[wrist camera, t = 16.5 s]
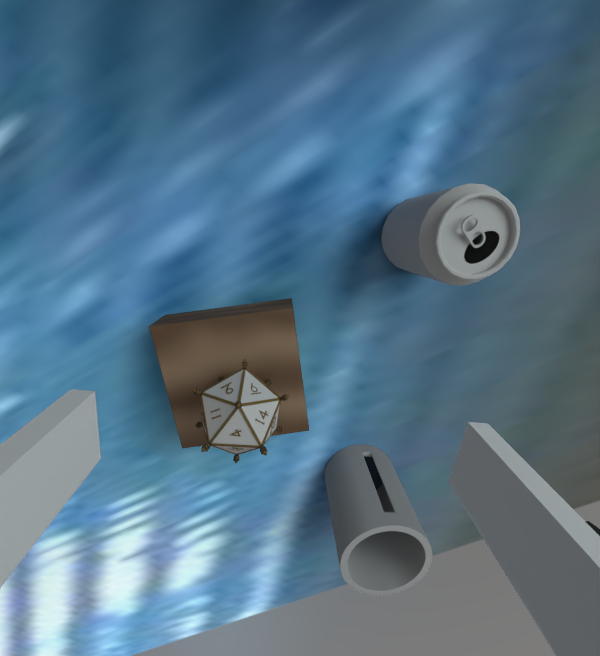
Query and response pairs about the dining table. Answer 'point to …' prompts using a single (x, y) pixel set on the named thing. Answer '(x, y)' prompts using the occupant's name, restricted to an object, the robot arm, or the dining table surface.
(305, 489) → the dining table surface
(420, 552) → the cup
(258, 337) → the walnut block
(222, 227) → the dining table surface
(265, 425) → the game die
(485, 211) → the can
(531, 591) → the robot arm
